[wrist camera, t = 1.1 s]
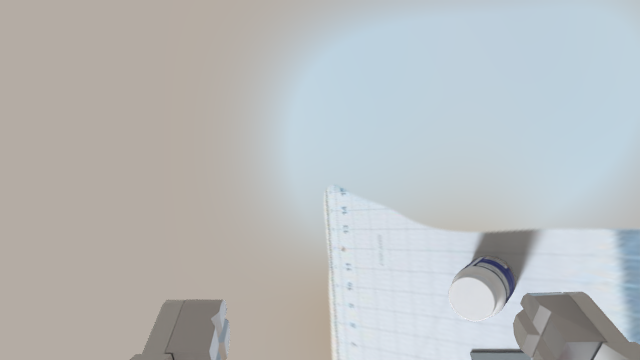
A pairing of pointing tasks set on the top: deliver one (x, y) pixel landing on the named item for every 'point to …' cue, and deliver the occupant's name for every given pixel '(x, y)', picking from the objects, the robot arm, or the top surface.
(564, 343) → the robot arm
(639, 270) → the top surface
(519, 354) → the mat
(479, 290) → the pill bottle
